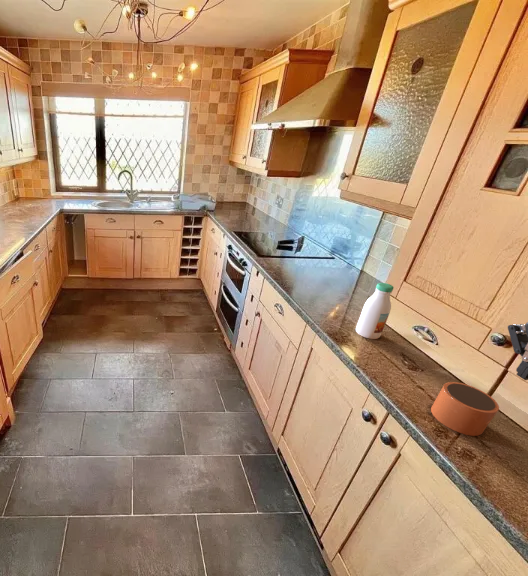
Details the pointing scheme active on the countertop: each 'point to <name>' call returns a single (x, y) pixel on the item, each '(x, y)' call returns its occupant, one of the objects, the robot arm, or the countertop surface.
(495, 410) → the terracotta pot
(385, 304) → the milk bottle
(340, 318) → the countertop surface
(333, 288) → the countertop surface
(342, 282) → the countertop surface
